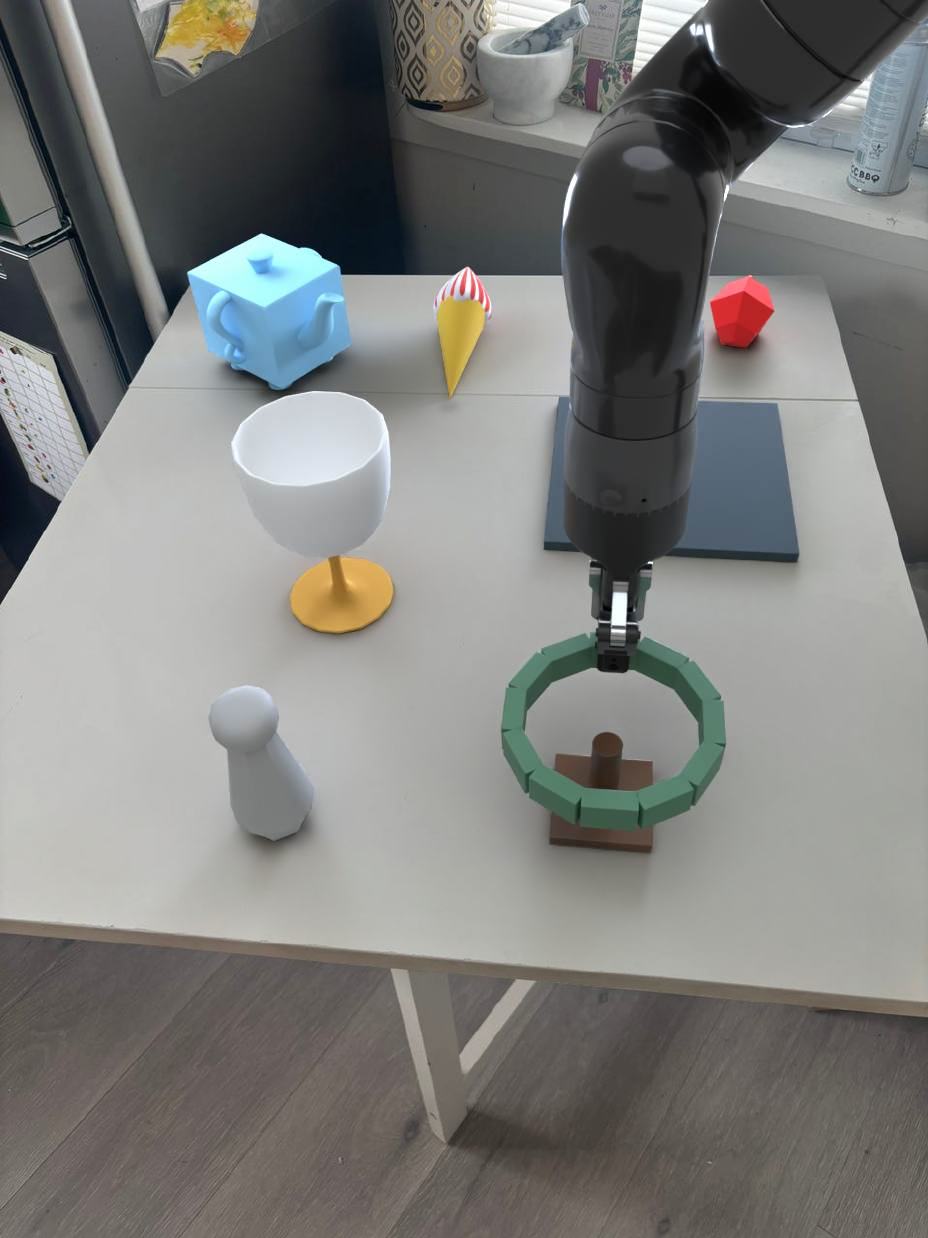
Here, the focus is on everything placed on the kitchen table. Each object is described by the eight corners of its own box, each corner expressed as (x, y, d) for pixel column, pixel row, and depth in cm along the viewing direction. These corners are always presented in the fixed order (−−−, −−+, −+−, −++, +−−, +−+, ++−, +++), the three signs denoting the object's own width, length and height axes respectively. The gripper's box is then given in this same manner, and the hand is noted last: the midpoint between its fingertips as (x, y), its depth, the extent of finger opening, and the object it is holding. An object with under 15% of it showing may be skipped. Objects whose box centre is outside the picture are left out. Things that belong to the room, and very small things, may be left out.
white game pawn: (246, 780, 74) (204, 669, 64) (323, 780, 73) (291, 668, 64) (231, 851, 70) (184, 743, 60) (312, 851, 69) (277, 743, 60)
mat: (776, 411, 101) (777, 402, 100) (797, 562, 86) (799, 553, 85) (558, 404, 103) (558, 396, 103) (543, 549, 89) (543, 541, 88)
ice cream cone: (444, 426, 109) (462, 295, 118) (490, 406, 105) (505, 272, 115) (407, 394, 105) (429, 260, 114) (454, 371, 101) (472, 236, 110)
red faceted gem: (763, 318, 102) (780, 258, 105) (698, 318, 106) (716, 259, 108) (770, 361, 108) (786, 303, 111) (708, 359, 111) (725, 302, 114)
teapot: (193, 373, 111) (162, 265, 101) (296, 313, 118) (275, 207, 109) (304, 433, 102) (280, 320, 93) (406, 364, 110) (394, 253, 100)
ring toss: (651, 768, 73) (661, 705, 67) (651, 853, 68) (662, 793, 62) (555, 760, 73) (557, 698, 68) (549, 844, 69) (550, 785, 63)
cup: (299, 665, 81) (256, 506, 68) (257, 575, 88) (211, 417, 76) (430, 615, 84) (412, 455, 71) (379, 533, 91) (354, 374, 79)
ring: (715, 660, 71) (719, 638, 69) (725, 838, 61) (731, 818, 59) (514, 649, 73) (513, 627, 71) (493, 820, 63) (492, 800, 61)
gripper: (696, 549, 53) (667, 739, 66) (690, 400, 62) (665, 592, 75) (556, 543, 54) (554, 732, 67) (570, 397, 63) (565, 587, 76)
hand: (612, 657), depth 71 cm, fingers closed on ring, 1 cm apart
